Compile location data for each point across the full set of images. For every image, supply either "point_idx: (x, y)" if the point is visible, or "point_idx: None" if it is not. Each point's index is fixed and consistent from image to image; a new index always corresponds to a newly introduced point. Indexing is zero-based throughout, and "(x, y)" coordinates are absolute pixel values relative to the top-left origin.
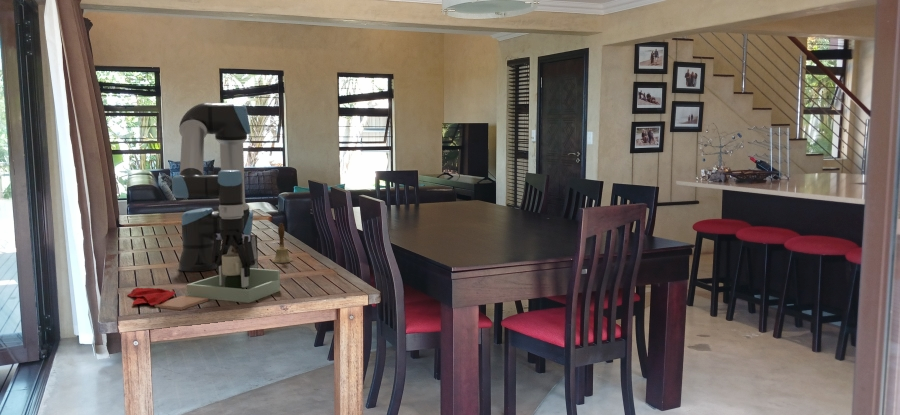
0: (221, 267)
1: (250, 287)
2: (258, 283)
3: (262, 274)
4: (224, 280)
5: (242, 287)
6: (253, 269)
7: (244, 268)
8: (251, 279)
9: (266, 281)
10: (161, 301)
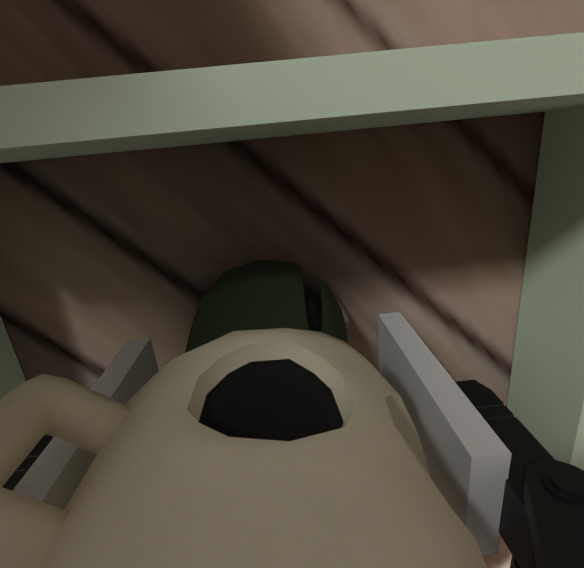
0: None
1: (270, 136)
2: (375, 124)
3: (486, 106)
4: (144, 384)
5: (345, 330)
6: (344, 115)
7: (499, 517)
8: (288, 131)
9: (495, 111)
10: None
